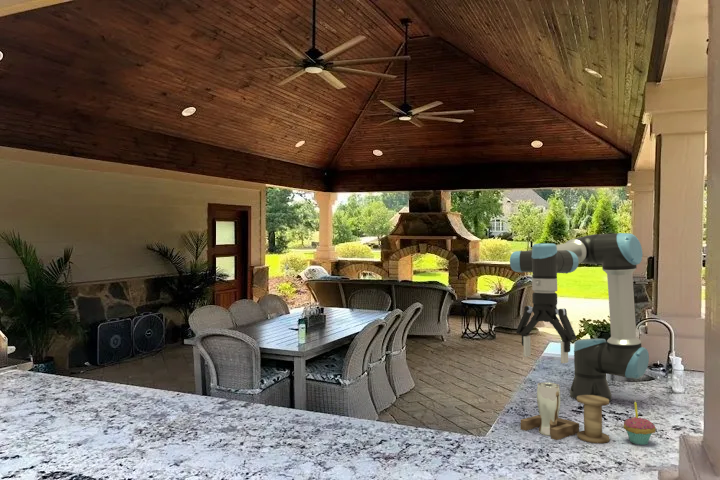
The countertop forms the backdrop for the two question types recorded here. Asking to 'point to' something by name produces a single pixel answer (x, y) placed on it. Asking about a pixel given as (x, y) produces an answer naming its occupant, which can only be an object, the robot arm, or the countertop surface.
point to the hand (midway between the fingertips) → (545, 359)
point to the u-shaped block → (559, 432)
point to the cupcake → (639, 428)
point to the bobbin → (593, 419)
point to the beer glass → (548, 406)
